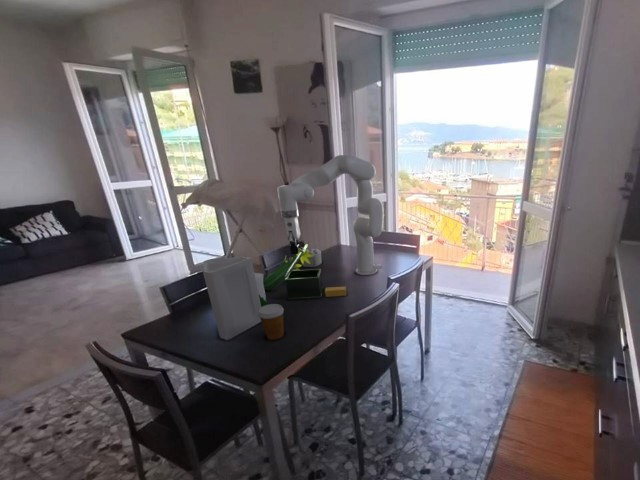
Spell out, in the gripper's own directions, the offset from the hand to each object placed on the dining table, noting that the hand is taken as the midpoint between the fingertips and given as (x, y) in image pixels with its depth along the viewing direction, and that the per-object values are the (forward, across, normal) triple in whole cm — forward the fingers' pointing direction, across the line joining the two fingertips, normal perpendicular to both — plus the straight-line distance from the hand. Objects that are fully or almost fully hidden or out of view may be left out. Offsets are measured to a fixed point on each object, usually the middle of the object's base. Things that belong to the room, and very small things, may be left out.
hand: (295, 251), depth 170 cm
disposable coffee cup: (+22, -41, +5) cm, 47 cm away
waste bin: (+22, 0, -2) cm, 22 cm away
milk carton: (+22, -19, +17) cm, 34 cm away
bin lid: (+5, 0, 0) cm, 5 cm away
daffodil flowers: (+22, +19, +10) cm, 31 cm away
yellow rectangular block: (+22, -3, -17) cm, 28 cm away
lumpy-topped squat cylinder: (+23, +49, -1) cm, 54 cm away
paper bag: (+22, -30, +24) cm, 44 cm away
